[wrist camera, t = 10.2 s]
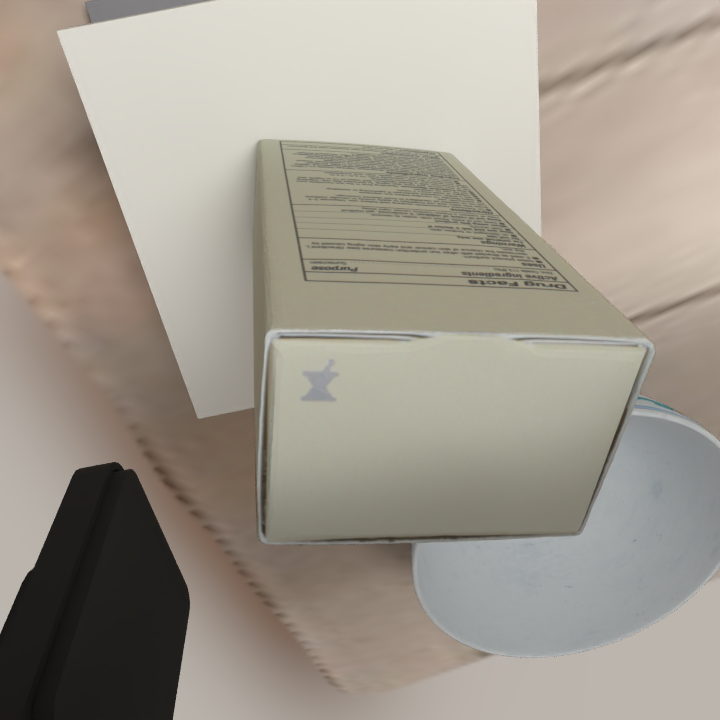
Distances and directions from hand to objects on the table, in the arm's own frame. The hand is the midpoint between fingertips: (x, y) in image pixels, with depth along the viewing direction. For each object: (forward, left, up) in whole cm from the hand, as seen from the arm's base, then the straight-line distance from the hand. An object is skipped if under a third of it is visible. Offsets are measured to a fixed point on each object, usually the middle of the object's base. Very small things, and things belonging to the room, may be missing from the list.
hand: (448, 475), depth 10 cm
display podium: (+1, 0, -20) cm, 20 cm away
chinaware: (-7, +17, -20) cm, 27 cm away
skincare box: (0, 0, -13) cm, 13 cm away
